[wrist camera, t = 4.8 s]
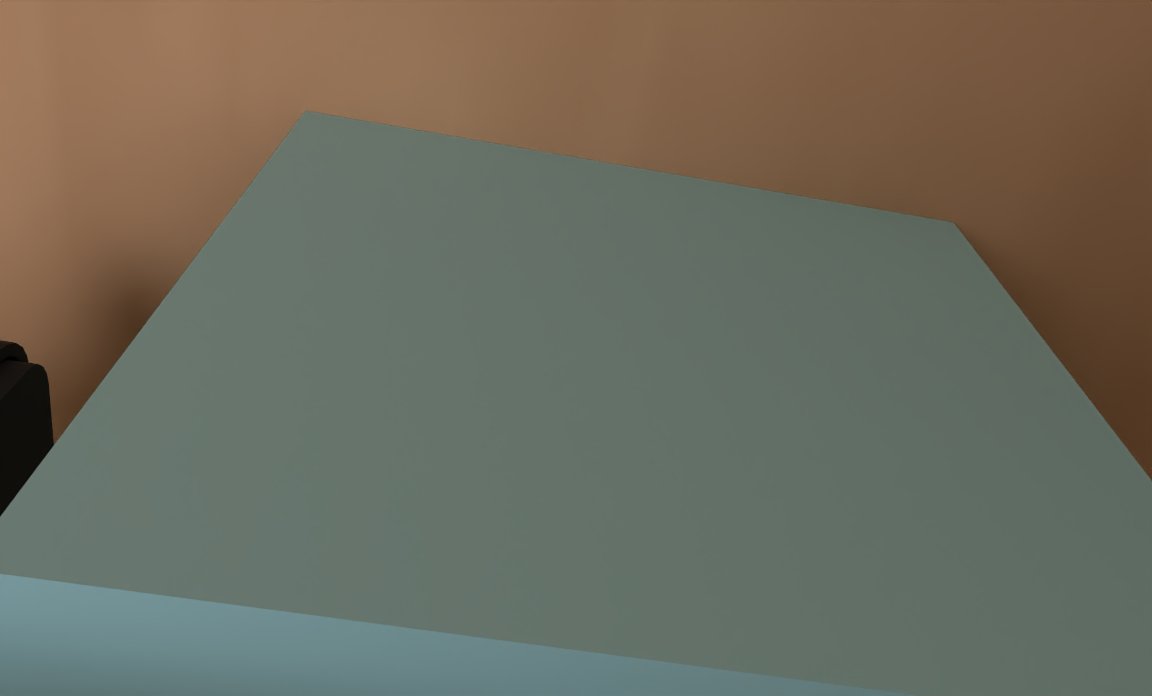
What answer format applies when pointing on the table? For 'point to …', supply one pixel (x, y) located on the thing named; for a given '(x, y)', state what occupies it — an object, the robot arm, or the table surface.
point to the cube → (575, 453)
